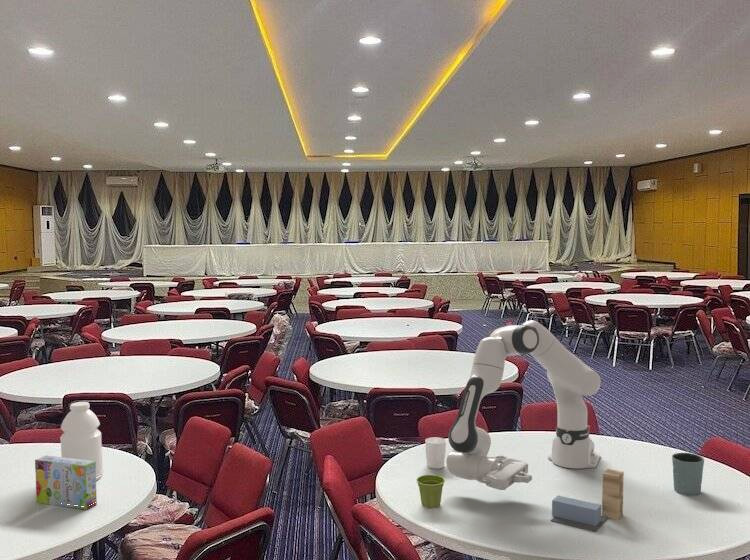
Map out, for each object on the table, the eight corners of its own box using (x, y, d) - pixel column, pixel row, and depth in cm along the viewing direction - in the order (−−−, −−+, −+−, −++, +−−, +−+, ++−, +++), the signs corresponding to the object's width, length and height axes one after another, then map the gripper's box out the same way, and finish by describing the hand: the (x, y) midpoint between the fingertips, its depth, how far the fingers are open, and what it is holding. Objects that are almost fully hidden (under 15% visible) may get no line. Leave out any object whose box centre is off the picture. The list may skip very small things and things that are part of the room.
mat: (564, 508, 234) (564, 507, 234) (607, 518, 226) (607, 517, 226) (550, 521, 224) (550, 520, 224) (595, 531, 216) (595, 531, 216)
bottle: (53, 482, 261) (50, 406, 259) (82, 469, 274) (79, 397, 272) (83, 487, 256) (80, 410, 254) (111, 474, 269) (108, 400, 267)
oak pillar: (606, 511, 232) (607, 468, 231) (622, 514, 229) (623, 471, 228) (602, 516, 228) (602, 473, 227) (617, 520, 225) (618, 476, 224)
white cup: (444, 470, 271) (444, 444, 270) (423, 468, 273) (423, 442, 272) (446, 463, 279) (446, 437, 278) (426, 461, 280) (426, 436, 280)
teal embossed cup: (703, 488, 251) (704, 454, 250) (703, 498, 242) (704, 463, 241) (671, 484, 255) (672, 451, 254) (670, 493, 246) (671, 459, 245)
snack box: (98, 504, 241) (96, 460, 239) (86, 510, 235) (84, 465, 234) (47, 496, 248) (45, 454, 246) (35, 503, 242) (33, 459, 241)
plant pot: (437, 513, 231) (437, 486, 231) (411, 507, 236) (411, 481, 236) (449, 503, 239) (449, 477, 238) (424, 497, 244) (424, 472, 243)
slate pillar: (557, 495, 232) (601, 504, 224) (557, 510, 232) (601, 520, 224) (552, 500, 227) (596, 510, 219) (551, 515, 228) (595, 526, 220)
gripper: (477, 470, 233) (517, 479, 225) (504, 453, 250) (542, 461, 242) (477, 489, 233) (517, 498, 226) (503, 471, 250) (541, 479, 242)
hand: (530, 479), depth 234 cm, fingers closed
